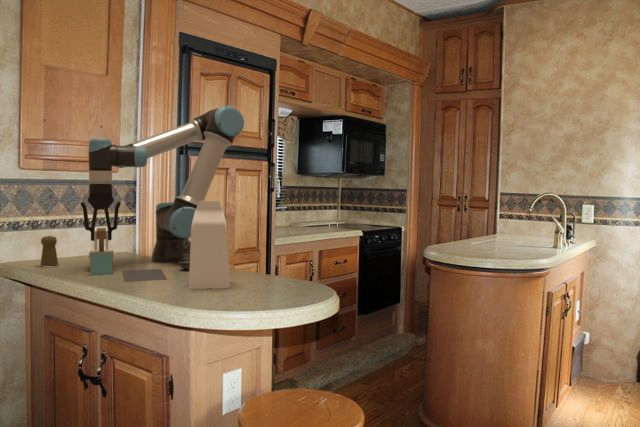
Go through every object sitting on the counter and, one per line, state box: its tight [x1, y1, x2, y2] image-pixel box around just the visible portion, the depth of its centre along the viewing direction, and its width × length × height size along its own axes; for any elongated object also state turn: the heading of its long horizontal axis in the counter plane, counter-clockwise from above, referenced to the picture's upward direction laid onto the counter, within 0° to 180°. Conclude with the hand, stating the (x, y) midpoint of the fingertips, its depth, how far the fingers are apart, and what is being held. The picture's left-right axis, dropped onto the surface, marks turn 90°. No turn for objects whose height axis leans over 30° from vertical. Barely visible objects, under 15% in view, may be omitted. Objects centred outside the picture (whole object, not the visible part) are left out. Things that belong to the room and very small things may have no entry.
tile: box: [89, 251, 114, 276], centre depth 182 cm, size 7×2×8 cm, turn 112°
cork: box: [40, 235, 59, 267], centre depth 201 cm, size 6×6×11 cm
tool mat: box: [121, 268, 169, 283], centre depth 182 cm, size 13×22×1 cm, turn 22°
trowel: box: [88, 227, 115, 259], centre depth 193 cm, size 15×8×9 cm, turn 21°
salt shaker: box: [178, 237, 191, 271], centre depth 192 cm, size 6×6×12 cm
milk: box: [188, 200, 231, 290], centre depth 168 cm, size 12×12×26 cm
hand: (101, 249), depth 193 cm, fingers closed on trowel, 3 cm apart
